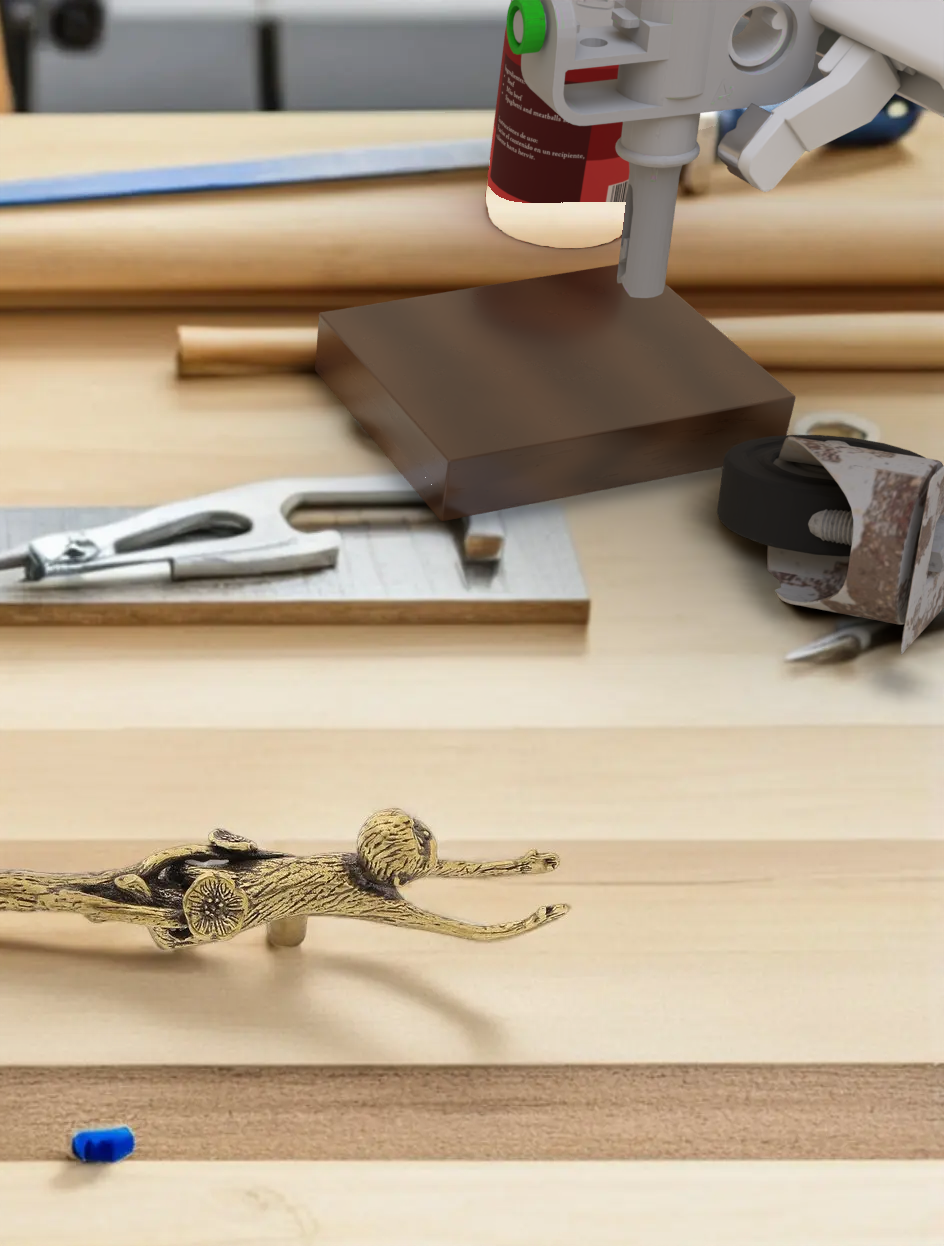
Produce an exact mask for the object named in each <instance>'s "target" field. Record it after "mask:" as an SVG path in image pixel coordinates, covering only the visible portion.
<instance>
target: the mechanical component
mask: <svg viewBox="0 0 944 1246" xmlns="http://www.w3.org/2000/svg"><path fill="white" fill-rule="evenodd" d="M811 2H812V0H615V5H614V9H613V10H612V16H611V19H612V20H613V24H612V25H611V26H602V27H592V28H582V29H580V22H578V21H577V20H576V17H575V11H574V7H573V3H572V1H571V0H513V1H512V2H511V1H510V3H509V6H508V8H509V9H507V12H506V13H507V14H506V24H507V37H508V42H509V46H510V48H511V50H512V52H513V53H514V54H517V55H518V54H522V56H521V71H522V76H523V78H524V80H525V83H526V84H527V85H528V87H529V88H530V89H531V90H532V91H533V92H534V93H536V94H537V95H538V96H539V97H540V98H541V99H542V100H543V101H544V102H545V103H546V104H547V105H549V106H550V107H551V108H552V109H553V110H554V111H555V112H556V113H557V114H558V115H559V116H561V117H562V118H563V119H564V120H565V121H567V122H569V123H571V124H573V125H578V126H589V125H598V124H607V123H616V122H623V126H622V135H621V137H620V138H619V139H618V141H617V143H616V146H615V148H616V152H617V154H618V155H619V156H620V157H621V158H622V159H624V160H626V161H628V162H629V180H628V188H627V196H626V205H625V213H624V222H623V230H622V236H621V239H620V248H619V255H618V257H619V258H618V264H619V265H618V273H617V283H622V284H623V286H624V288H625V290H626V292H627V293H628V294H629V295H630V297H635V298H651V297H655V296H658V295H660V294H662V293H663V291H664V287H665V284H666V281H667V272H668V265H669V257H670V251H671V242H672V234H673V227H674V222H675V221H674V220H675V214H676V212H675V211H676V204H677V197H678V192H679V191H678V189H679V182H680V175H681V172H682V168H683V166H685V165H688V164H690V163H692V162H694V161H695V160H697V158H698V157H699V155H700V152H701V147H700V144H699V142H698V141H697V140H698V134H699V125H700V119H701V114H704V113H705V114H706V113H713V112H721V111H732V110H740V109H747V108H748V107H749V106H750V104H751V103H753V104H755V105H757V106H759V107H767V106H774V105H778V104H779V105H780V104H782V103H784V102H786V101H787V100H789V99H791V98H792V97H794V96H796V95H797V94H798V93H799V92H801V89H802V88H804V86H805V85H806V83H807V82H808V80H809V79H810V77H811V74H812V71H813V69H814V67H815V60H816V55H817V54H816V50H817V44H818V39H819V36H820V35H821V34H822V33H823V32H824V28H825V25H823V24H820V23H818V22H816V21H815V20H814V19H813V17H812V16H811V15H810V11H809V8H810V4H811ZM751 9H752V15H751V18H750V20H748V23H747V24H746V25H745V27H744V28H743V29H742V30H741V31H740V32H738V34H736V35H735V36H734V35H733V34H734V31H735V28H736V25H738V23H739V21H740V20H741V18H743V17H742V16H743V15H744V14H745V13H747V12H748V11H750V10H751ZM610 65H619V69H618V78H617V79H613V80H604V81H594V82H585V83H576V84H567V85H564V81H565V72H566V71H568V70H573V69H582V68H592V67H601V66H610Z"/></svg>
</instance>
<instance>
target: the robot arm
mask: <svg viewBox="0 0 944 1246" xmlns="http://www.w3.org/2000/svg"><path fill="white" fill-rule="evenodd" d="M809 11H810V15H811V16H812V17H813V19H814V20H815V21H816V22H818V23H820V24H823V25H825V28H824V32H823V33H822V34H821V35H820V36H819V39H818V44H817V50H816V55H817V56H820V57H822V58H821V59H820V61H819V62H818V63H817V67H818V70H819V72H820V74H821V75H822V77H823V78H821V79H820V80H818V81H817V82H815V83H814V84H812V85H810V86H808V87H807V88H805V89H803V90H802V91H799V92H798V93H796V94H795V95H794V96H793V97H791V98H789V99H788V100H786V101H784V102H782V103H780V104H779V105H778V106H776V107H774V108H772V109H771V110H770V111H768V110H767V109H765V108H763V107H762V106H757V105H755V104H753V103H751V104H750V106H749V107H748V108H745V110H744V111H743V113H742V114H741V115H740V116H739V117H738V118H737V120H736V124H735V128H733V129H731V130H729V131H727V132H726V133H725V134H724V135H723V137H722V138H721V140H720V141H719V143H718V146H717V152H716V153H717V157H718V158H719V160H720V161H721V162H722V163H723V164H724V165H725V166H726V169H727V171H728V172H729V173H731V175H734V176H735V177H737V178H738V179H740V180H742V181H744V182H745V183H747V184H748V185H750V186H751V187H753V188H755V189H757V190H759V191H761V192H764V193H767V192H770V191H772V190H773V189H775V188H776V186H777V185H778V184H779V183H780V182H781V181H782V179H783V178H784V177H785V176H786V175H787V174H788V172H790V170H791V169H792V168H793V166H794V165H795V164H796V163H797V162H798V161H799V159H800V158H801V157H802V156H803V155H804V153H806V152H807V153H810V152H812V151H814V150H816V149H818V148H820V147H822V146H824V145H826V144H828V143H830V142H833V141H834V140H836V139H838V138H840V137H843V136H845V135H847V134H849V133H851V132H853V131H854V130H857V129H859V128H861V127H864V126H865V125H867V124H869V123H871V122H872V121H873V120H874V119H876V117H877V116H878V114H879V113H880V112H881V110H883V109H884V107H885V106H886V105H887V103H888V102H889V101H890V100H891V98H893V96H894V95H897V96H899V97H902V98H904V99H906V100H907V101H910V102H912V103H914V104H916V105H917V106H920V107H922V108H923V109H926V110H928V111H929V112H931V113H934V114H936V115H938V116H940V117H942V118H944V0H812V2H811V4H810V8H809ZM751 15H752V9H751V10H750V11H748V12H747V13H745V14H744V15H743V16H742V17H741V18H743V19H745V20H747V21H749V20H750V18H751Z"/></svg>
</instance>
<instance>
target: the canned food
mask: <svg viewBox="0 0 944 1246" xmlns="http://www.w3.org/2000/svg"><path fill="white" fill-rule="evenodd" d="M512 1H513V0H510V3H511V2H512ZM571 1H572V3H573V7H574V11H575V17H576V20H577V21H578V22H580V29H582V28H592V27H602V26H611V25H612V24H613V20H612V19H611V16H612V10H613V9H614V5H615V0H571ZM508 9H509V7H508ZM508 9H507V10H508ZM521 56H522V54H518V55H517V54H514V53H513V52H512V50H511V48H510V46H509V42H508V37H507V23H505V30H504V37H503V45H502V54H501V62H500V71H499V78H498V85H497V87H498V88H497V94H496V104H495V111H494V120H493V127H492V137H491V143H490V144H491V145H490V152H489V160H490V166H489V165H488V168H489V170H488V171H487V177H488V186H489V187H490V188H491V190H492V191H493V192H494V193H495V194H496V195H498V196H499V197H501V198H504V199H506V200H509V201H514V202H522V203H561V202H562V203H563V202H626V196H627V188H628V180H629V162H628V161H626V160H624V159H622V158H621V157H620V156H619V155H618V154H617V152H616V148H615V146H616V143H617V141H618V139H619V138H620V137H621V135H622V126H623V122H616V123H607V124H598V125H589V126H578V125H573V124H571V123H569V122H567V121H565V120H564V119H563V118H562V117H561V116H559V115H558V114H557V113H556V112H555V111H554V110H553V109H552V108H551V107H550V106H549V105H547V104H546V103H545V102H544V101H543V100H542V99H541V98H540V97H539V96H538V95H537V94H536V93H534V92H533V91H532V90H531V89H530V88H529V87H528V85H527V84H526V83H525V80H524V78H523V76H522V71H521ZM618 69H619V65H610V66H601V67H592V68H582V69H573V70H568V71H566V72H565V81H564V85H567V84H576V83H585V82H594V81H604V80H613V79H617V78H618ZM484 197H486V192H485V195H484Z"/></svg>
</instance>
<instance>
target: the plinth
mask: <svg viewBox="0 0 944 1246" xmlns="http://www.w3.org/2000/svg"><path fill="white" fill-rule="evenodd" d="M618 265H619V263H618V264H611V265H605V266H600V267H592V268H587V269H580V270H574V271H569V272H563V273H556V274H550V275H544V276H537V277H531V278H525V279H519V280H513V281H512V280H511V281H507V282H501V283H493V284H488V285H482V286H476V287H469V288H464V289H463V288H462V289H457V290H452V291H451V290H450V291H446V292H438V293H432V294H427V295H420V296H415V297H408V298H402V299H401V298H400V299H396V300H390V301H389V300H388V301H384V302H378V303H372V304H371V303H370V304H366V305H365V304H364V305H358V306H354V307H353V306H352V307H347V308H341V309H340V308H339V309H334V310H327V311H322V312H321V311H320V312H319V313H318V324H317V339H316V349H315V352H316V353H315V363H314V366H315V367H314V371H315V372H316V374H317V375H318V376H319V377H320V378H321V380H322V381H323V382H324V383H325V384H326V386H327V387H328V388H329V389H330V391H331V392H332V393H333V394H334V395H335V397H336V398H337V399H338V400H339V401H340V402H341V403H342V405H343V406H344V407H345V408H346V409H347V411H348V412H349V413H350V414H351V416H352V417H353V418H354V419H355V420H356V422H357V423H358V424H359V425H360V426H361V427H362V429H363V430H364V431H365V432H366V433H367V434H368V436H369V437H370V438H371V440H372V441H373V442H374V443H375V444H376V445H377V447H378V448H379V449H380V450H381V451H382V453H383V454H385V456H386V457H387V458H388V460H389V461H390V462H391V464H392V465H393V466H394V467H395V468H396V469H397V470H398V472H399V473H400V475H402V476H403V478H404V479H405V480H406V481H407V483H409V485H410V486H411V488H412V489H414V491H415V492H416V493H417V494H418V495H419V497H420V498H421V499H422V500H423V502H424V503H425V504H426V505H427V506H428V508H429V509H430V510H431V511H432V512H433V513H434V515H435V516H436V517H437V518H438V520H439V521H441V522H446V521H451V520H456V519H461V518H466V517H470V516H476V515H477V516H478V515H481V514H487V513H491V512H493V513H494V512H497V511H502V510H508V509H513V508H517V507H524V506H529V505H533V504H539V503H544V502H549V501H553V500H559V499H563V498H564V499H565V498H569V497H574V496H575V497H576V496H579V495H580V496H581V495H584V494H590V493H595V492H600V491H605V490H609V489H615V488H621V487H626V486H631V485H637V484H641V483H647V482H651V481H657V480H661V479H667V478H671V477H672V478H673V477H678V476H683V475H687V474H692V473H697V472H704V471H708V470H713V469H718V468H723V462H724V457H725V454H726V453H727V452H728V451H729V450H730V449H731V448H733V447H734V446H736V445H738V444H740V443H743V442H745V441H749V440H753V439H759V438H764V437H770V436H784V435H788V431H789V427H790V422H791V420H792V416H793V411H794V408H795V407H794V406H795V404H796V399H797V397H796V395H795V394H794V393H792V391H791V390H790V389H788V388H787V387H786V386H784V384H782V383H781V382H780V381H778V379H776V378H775V377H774V376H773V375H772V374H771V373H769V371H767V370H766V369H765V368H764V367H763V366H762V365H760V364H759V363H758V362H757V361H756V360H754V359H753V358H752V357H751V356H750V355H749V354H747V353H746V352H745V351H744V350H743V349H741V348H740V346H738V345H737V344H735V342H734V341H732V340H731V339H730V338H729V337H728V336H726V335H725V334H724V333H723V332H722V331H721V330H719V329H718V328H717V327H716V326H715V325H714V324H713V323H712V322H710V321H709V320H708V319H707V318H706V317H704V316H703V315H702V314H701V313H700V312H699V311H697V310H696V309H695V307H693V306H691V305H690V304H689V302H687V301H686V300H685V299H684V298H682V297H681V296H680V295H679V294H678V293H676V292H675V291H674V290H673V289H672V288H671V287H670V286H668V285H667V284H666V283H665V287H664V291H663V293H662V294H660V295H658V296H655V297H651V298H635V297H630V295H629V294H628V293H627V292H626V290H625V288H624V286H623V284H622V283H617V273H618ZM425 477H426V478H425ZM431 484H432V485H431Z"/></svg>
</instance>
